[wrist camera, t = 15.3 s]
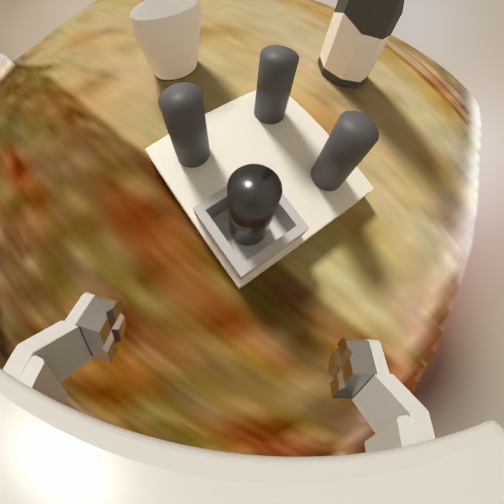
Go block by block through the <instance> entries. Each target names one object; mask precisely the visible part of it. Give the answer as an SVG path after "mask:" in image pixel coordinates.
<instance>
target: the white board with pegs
mask: <svg viewBox="0 0 504 504" xmlns="http://www.w3.org/2000/svg"><path fill="white" fill-rule="evenodd" d="M298 61H299V56H298V54H297V53H296V52H295V51H293V50H292V49H290V48H288V47H284V46H279V45H273V46H268V47H265V48H264V49H262V51H261V54H260V63H259V71H258V80H257V89H256V90H255V91H253V92H250V93H248V94H246V95H244V96H241V97H239V98H237V99H235V100H233V101H231V102H228V103H226V104H224V105H222V106H220V107H218V108H216V109H214V110H212V111H210V112H208V113H206V114H205V111H204V103H203V95H202V90H201V88H200V87H199V86H198V85H196V84H194V83H190V82H180V83H176V84H173V85H171V86H169V87H167V88H166V89H165V90H164V91H163V92H162V93H161V94H160V96H159V99H158V102H159V106H160V109H161V112H162V115H163V118H164V121H165V124H166V127H167V130H168V133H169V134H168V135H167V136H165V137H163V138H162V139H160V140H159V141H157V142H155V143H154V144H152V145H151V146H149V147H147V148H146V149H145V150H146V152H147V154H148V156H149V158H150V160H151V161H152V163H153V164H154V166H155V167H156V169H157V170H158V172H159V174H160V175H161V177H162V178H163V180H164V181H165V183H166V184H167V186H168V187H169V189H170V190H171V192H172V193H173V195H174V196H175V198H176V199H177V201H178V202H179V204H180V205H181V207H182V208H183V210H184V211H185V213H186V214H187V216H188V217H189V219H190V220H191V222H192V223H193V224H194V226H195V227H196V229H197V230H198V232H199V233H200V235H201V236H202V238H203V239H204V240H205V242H206V243H207V245H208V246H209V248H210V249H211V251H212V252H213V253H214V255H215V256H216V258H217V259H218V261H219V262H220V263H221V265H222V266H223V268H224V269H225V270H226V272H227V273H228V275H229V276H230V277H231V279H232V280H233V282H234V283H235V284H236V286H237V287H238V289H240V288H241V287H243V286H244V285H246V284H247V283H248V282H250V281H251V280H253V279H254V278H255V277H257V276H258V275H260V274H261V273H262V272H264V271H265V270H267V269H268V268H269V267H271V266H272V265H273V264H275V263H276V262H278V261H279V260H280V259H282V258H283V257H284V256H286V255H287V254H289V253H290V252H291V251H293V250H294V249H295V248H297V247H298V246H300V245H301V244H302V243H304V242H305V241H306V240H308V239H309V238H310V237H312V236H313V235H314V234H316V233H317V232H318V231H320V230H321V229H322V228H324V227H325V226H327V225H328V224H329V223H331V222H332V221H333V220H335V219H336V218H337V217H339V216H340V215H341V214H343V213H344V212H345V211H347V210H348V209H349V208H350V207H352V206H353V205H354V204H356V203H357V202H358V201H360V200H361V199H362V198H364V197H365V196H366V195H367V194H368V193H369V192H370V191H372V190H373V189H374V188H373V186H372V185H371V184H370V182H369V181H368V180H367V179H366V177H365V176H364V175H363V174H362V173H361V171H360V170H359V169H358V168H357V167H356V166H357V165H358V164H359V163H360V162H361V160H362V159H363V158H364V157H365V155H366V154H367V153H368V152H369V151H370V149H371V148H372V147H373V146H374V144H375V143H376V142H377V140H378V138H379V132H378V129H377V127H376V125H375V124H374V122H373V121H372V120H371V119H370V118H369V117H367V116H366V115H364V114H362V113H360V112H357V111H346V112H344V113H342V114H341V115H340V117H339V119H338V121H337V123H336V125H335V127H334V128H333V130H332V132H331V134H330V136H329V135H328V134H327V133H326V132H325V131H324V129H323V128H322V127H321V126H320V125H319V124H318V123H317V122H316V121H315V120H314V119H313V118H312V117H311V116H310V115H309V114H308V113H307V112H306V111H305V110H304V109H303V108H302V107H301V106H300V105H299V104H298V103H297V102H296V101H295V100H293V99H292V98H291V97H290V96H289V95H290V92H291V88H292V84H293V80H294V76H295V72H296V68H297V65H298ZM247 164H260V165H264V166H266V167H269V168H270V169H272V170H273V171H274V172H275V173H276V174H277V175H278V177H279V178H280V181H281V183H282V196H281V199H280V201H279V203H278V206H277V208H276V211H275V213H274V215H273V218H272V220H271V223H270V225H269V228H268V230H267V232H266V235H265V237H264V238H263V240H262V241H260V242H259V243H258V244H255V245H252V246H245V245H241V244H239V243H237V242H236V241H235V240H234V239H233V238H232V236H231V234H230V229H229V214H228V198H227V183H228V180H229V178H230V176H231V174H232V173H233V172H234V171H235V170H236V169H238V168H239V167H241V166H244V165H247Z"/></svg>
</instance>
